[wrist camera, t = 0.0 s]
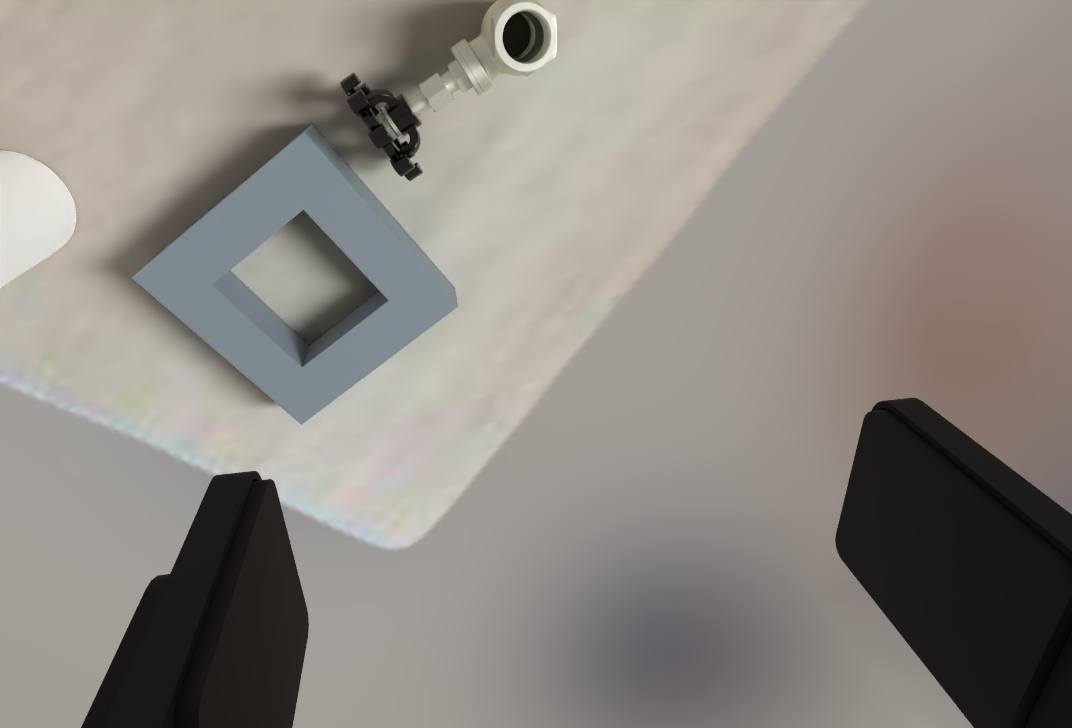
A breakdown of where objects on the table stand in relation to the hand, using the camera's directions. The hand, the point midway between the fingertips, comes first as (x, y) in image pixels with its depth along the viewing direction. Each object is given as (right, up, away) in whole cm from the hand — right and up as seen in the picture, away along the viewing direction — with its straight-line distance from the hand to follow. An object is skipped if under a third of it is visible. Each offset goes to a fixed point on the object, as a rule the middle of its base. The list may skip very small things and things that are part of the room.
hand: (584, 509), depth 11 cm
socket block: (-16, +8, +35) cm, 40 cm away
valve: (-6, +21, +31) cm, 38 cm away
